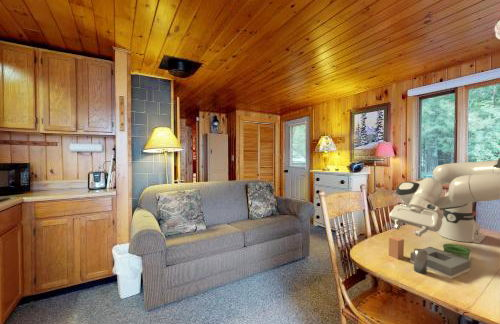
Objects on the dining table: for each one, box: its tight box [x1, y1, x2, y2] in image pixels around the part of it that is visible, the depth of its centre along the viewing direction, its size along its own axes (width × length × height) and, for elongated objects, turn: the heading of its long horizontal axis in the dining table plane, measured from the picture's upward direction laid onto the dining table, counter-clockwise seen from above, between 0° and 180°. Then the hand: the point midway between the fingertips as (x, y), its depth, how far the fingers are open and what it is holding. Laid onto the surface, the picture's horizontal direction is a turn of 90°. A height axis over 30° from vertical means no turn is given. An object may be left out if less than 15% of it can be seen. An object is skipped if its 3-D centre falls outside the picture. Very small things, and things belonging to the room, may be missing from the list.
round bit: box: [413, 248, 428, 275], centre depth 90 cm, size 4×4×8 cm
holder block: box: [409, 246, 472, 280], centre depth 94 cm, size 14×14×4 cm
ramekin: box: [442, 243, 472, 260], centre depth 101 cm, size 9×9×4 cm
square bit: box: [388, 235, 405, 260], centre depth 102 cm, size 4×4×8 cm
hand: (406, 232), depth 104 cm, fingers open, 8 cm apart
